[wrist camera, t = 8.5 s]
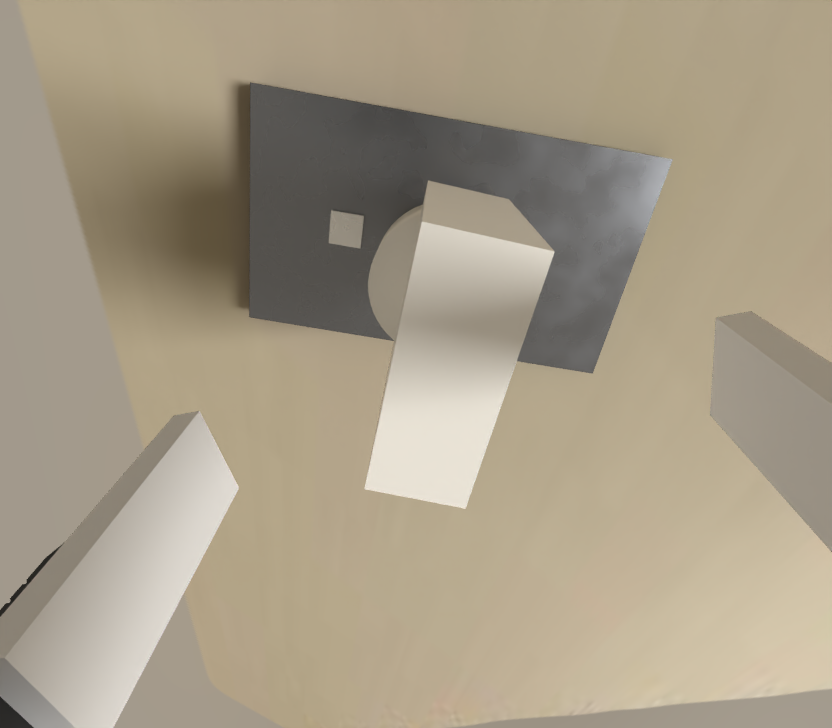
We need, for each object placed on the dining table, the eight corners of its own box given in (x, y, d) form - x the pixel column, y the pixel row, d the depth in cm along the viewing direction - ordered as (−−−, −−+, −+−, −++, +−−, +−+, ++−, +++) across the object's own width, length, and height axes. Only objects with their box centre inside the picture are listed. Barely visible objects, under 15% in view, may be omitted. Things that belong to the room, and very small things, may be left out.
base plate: (259, 84, 28) (208, 74, 22) (661, 157, 29) (723, 168, 23) (256, 309, 34) (216, 351, 28) (586, 363, 35) (618, 416, 29)
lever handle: (392, 164, 23) (353, 205, 12) (535, 197, 23) (619, 266, 13) (359, 351, 27) (309, 501, 17) (479, 376, 28) (506, 538, 17)
